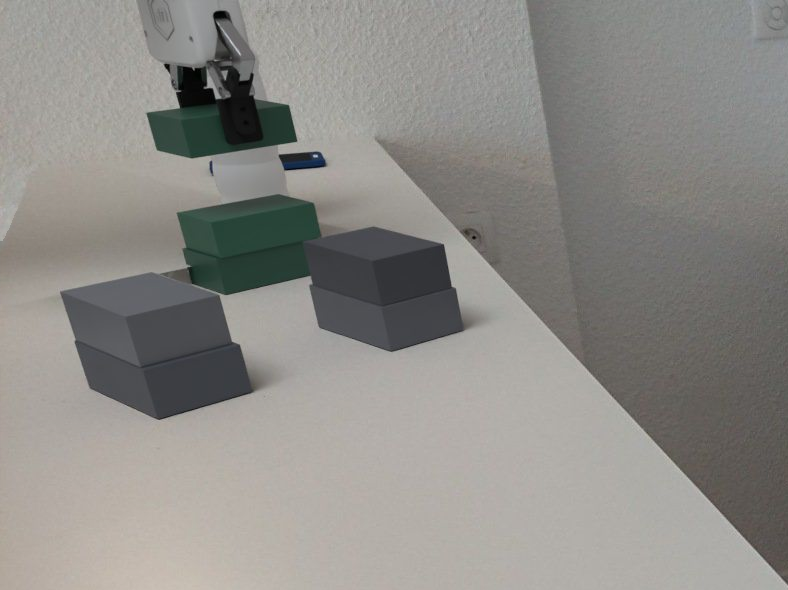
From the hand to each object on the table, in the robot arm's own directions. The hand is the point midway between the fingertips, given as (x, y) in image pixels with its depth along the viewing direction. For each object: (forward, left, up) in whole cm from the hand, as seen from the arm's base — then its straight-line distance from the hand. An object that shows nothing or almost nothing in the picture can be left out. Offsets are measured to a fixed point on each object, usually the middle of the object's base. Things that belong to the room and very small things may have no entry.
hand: (225, 136), depth 119 cm
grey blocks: (-11, -25, -13) cm, 30 cm away
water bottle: (+11, +20, -14) cm, 26 cm away
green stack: (0, 0, -13) cm, 13 cm away
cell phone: (+29, +52, -13) cm, 61 cm away
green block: (0, 0, -1) cm, 1 cm away
